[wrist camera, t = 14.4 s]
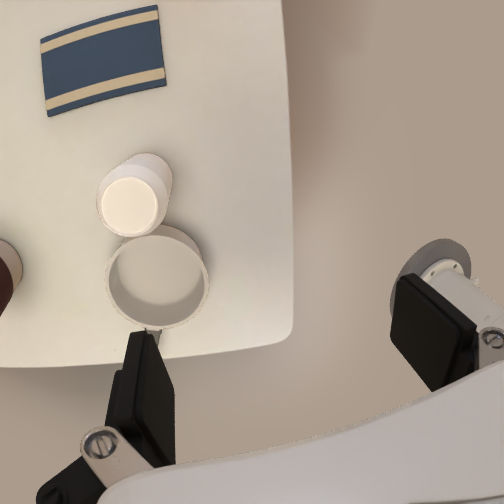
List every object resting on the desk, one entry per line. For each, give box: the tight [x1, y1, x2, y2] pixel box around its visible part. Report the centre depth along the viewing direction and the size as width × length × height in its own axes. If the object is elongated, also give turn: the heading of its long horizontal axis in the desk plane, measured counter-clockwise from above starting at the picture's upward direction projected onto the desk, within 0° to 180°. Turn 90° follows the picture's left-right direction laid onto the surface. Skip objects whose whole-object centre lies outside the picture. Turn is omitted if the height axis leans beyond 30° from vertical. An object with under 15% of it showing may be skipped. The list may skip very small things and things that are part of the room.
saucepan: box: [105, 225, 209, 347], centre depth 38 cm, size 12×20×6 cm, turn 168°
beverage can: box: [96, 153, 173, 237], centre depth 29 cm, size 6×6×12 cm
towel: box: [40, 5, 166, 117], centre depth 27 cm, size 14×10×1 cm
